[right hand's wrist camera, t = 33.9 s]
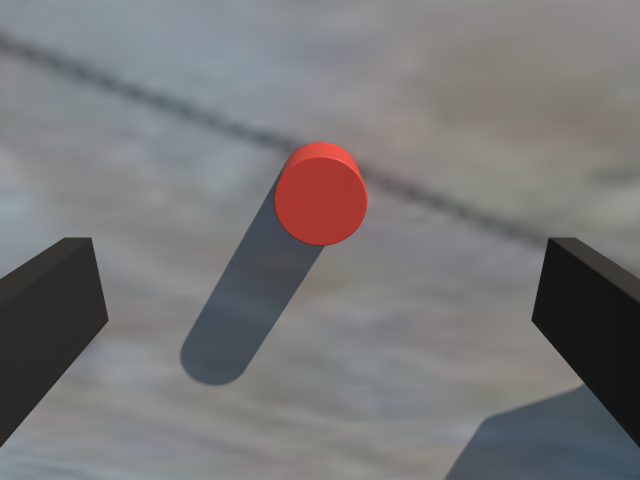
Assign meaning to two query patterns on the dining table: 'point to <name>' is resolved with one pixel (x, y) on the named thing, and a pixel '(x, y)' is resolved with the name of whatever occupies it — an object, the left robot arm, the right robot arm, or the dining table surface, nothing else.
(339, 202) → the canister
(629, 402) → the right robot arm
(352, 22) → the dining table surface
